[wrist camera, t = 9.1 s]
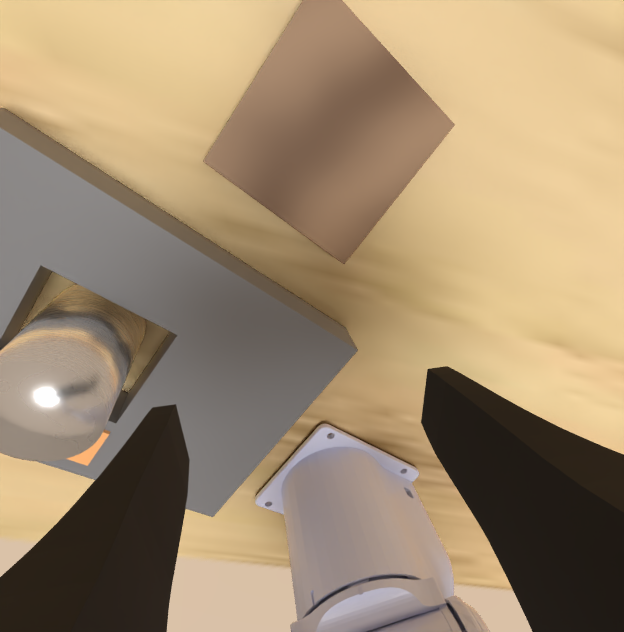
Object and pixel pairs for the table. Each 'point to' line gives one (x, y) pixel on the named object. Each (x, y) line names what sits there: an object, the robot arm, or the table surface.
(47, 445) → the steel peg
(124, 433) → the hole plate
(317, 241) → the tab
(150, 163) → the table surface
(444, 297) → the table surface
